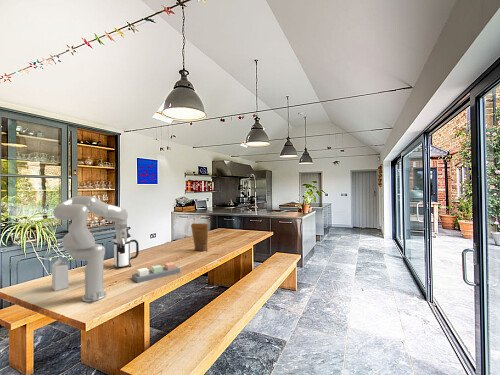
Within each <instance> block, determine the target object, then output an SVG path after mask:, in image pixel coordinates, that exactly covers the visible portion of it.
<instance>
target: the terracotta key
mask: <svg viewBox="0 0 500 375" xmlns="http://www.w3.org/2000/svg"><path fill="white" fill-rule="evenodd" d="M163 265H164V266H163V267H164V268H165V269H166V270H171V269H175V266H176V263H174V262H173V261H171V262H166V263H164V264H163Z"/></svg>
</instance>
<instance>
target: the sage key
mask: <svg viewBox="0 0 500 375" xmlns="http://www.w3.org/2000/svg"><path fill="white" fill-rule="evenodd" d="M162 267H163V266H162V265H160V264H157V265H152V266H150V270H151V272H153V273H158V272H162Z"/></svg>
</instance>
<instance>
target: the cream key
mask: <svg viewBox="0 0 500 375" xmlns="http://www.w3.org/2000/svg"><path fill="white" fill-rule="evenodd" d="M149 270H150V269H148V268H147V267H142V268H138V269H136V273H137V275H138V276H139V277H141V276H146V275H149Z"/></svg>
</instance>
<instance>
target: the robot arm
mask: <svg viewBox="0 0 500 375" xmlns="http://www.w3.org/2000/svg"><path fill="white" fill-rule="evenodd" d="M89 213H92V214H94V215H96V216H98V217H104V219H105V221H108V222H114V230H116V231H115V234H116V241H117V242H118V252H120V254H123V253H125V243H127V233H128V232H127V229H128V217H129V214H128V211H127V209H126V208H125V209H124V208H123V207H121V206H118V205H113V204H109V203H106V202H104V201H102V200H100V199H98V198H96V197H95V196H91V195H76V196H73V197H71V198H68V199H67V200H65V201H62V202H61V203H59V204H57V205H56V206H55V207H54V209H53V213H52V214H53V217H55V219H57V220H60V221H61V220H62V221H71V224H70V226H69V228H68V232H67V233H66V234H65V235H64V236H63V237H62V240H61V241H62V242H61V243H62V246H63V248H64V250H65V251H66V252H67V254H69V256H70V257H71V258H72V259H73V260H75V261H87V263H86V265H85V266H84V295H82V297H81V300H82V302H85V303H89V302H96V301H99V300H103V299H104V298H106V296H107V293H108V292H107V291H105V290H104V282H105V281H104V260H105V254H106V248H105V246H103V245H102V244H98V243H96V240H95V239H96V238H94V235H93V234H92V233H91V231H90V229H89V228H88V227H87V220H88V216H89Z"/></svg>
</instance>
